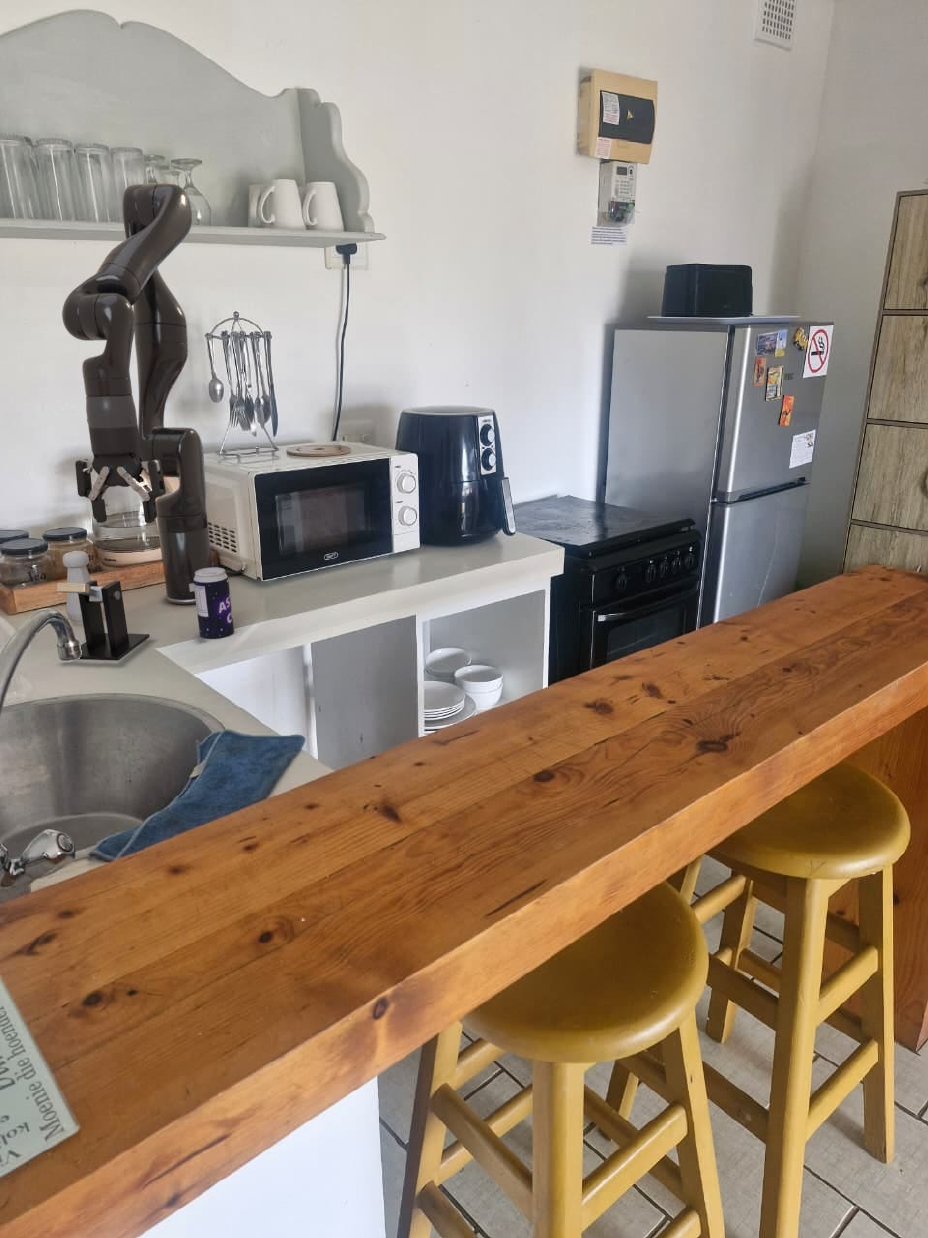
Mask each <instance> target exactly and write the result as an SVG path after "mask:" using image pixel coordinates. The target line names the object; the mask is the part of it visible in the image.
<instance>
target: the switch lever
mask: <svg viewBox="0 0 928 1238" xmlns="http://www.w3.org/2000/svg"><path fill="white" fill-rule="evenodd" d="M56 584H57V585H56V592H57V593H62V594H63V593H65V594H67V593H79V594H83V595H87V596H89V601H91V602H95V603H100V604H103V599H102V592H101V588H103V587H104V586H98V587H94V586H91V587H90V588H89V586H90V585H88V584H82V583H67V582H57V583H56Z"/></svg>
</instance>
